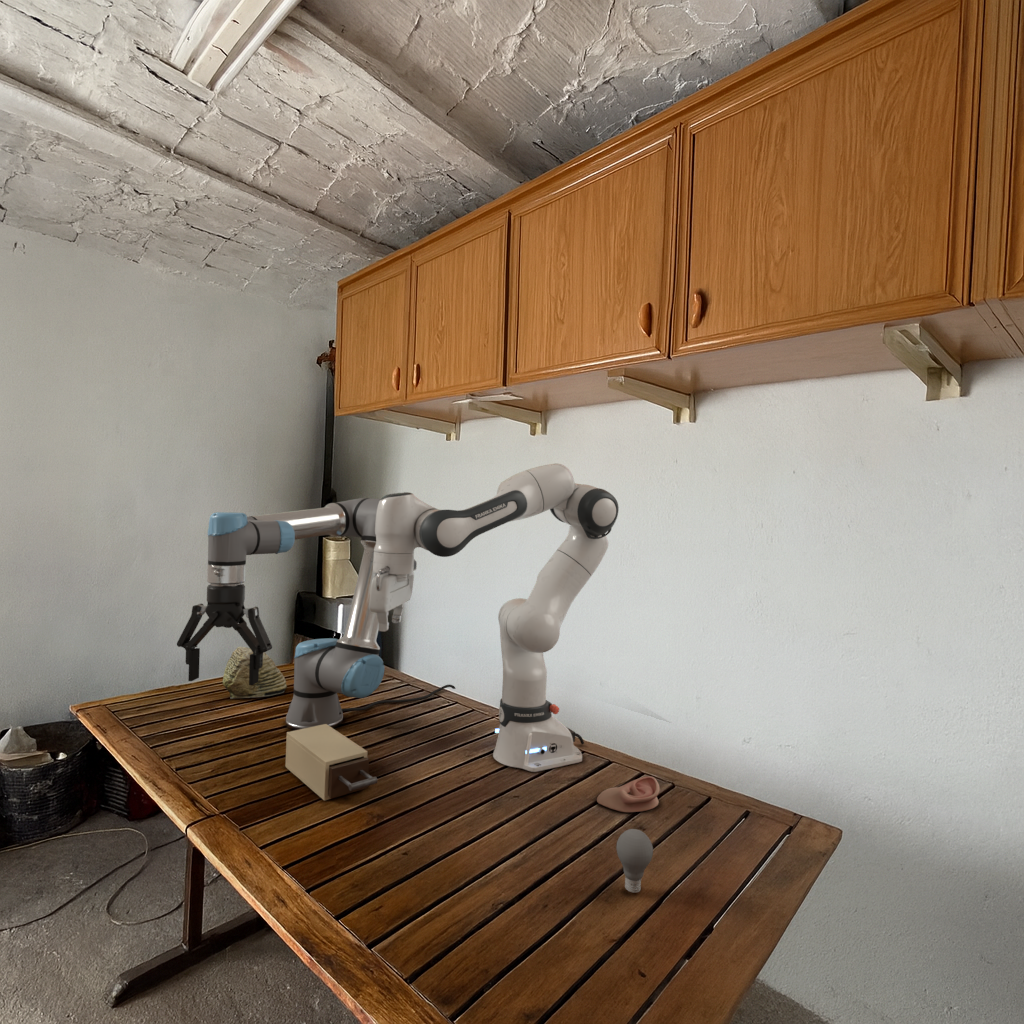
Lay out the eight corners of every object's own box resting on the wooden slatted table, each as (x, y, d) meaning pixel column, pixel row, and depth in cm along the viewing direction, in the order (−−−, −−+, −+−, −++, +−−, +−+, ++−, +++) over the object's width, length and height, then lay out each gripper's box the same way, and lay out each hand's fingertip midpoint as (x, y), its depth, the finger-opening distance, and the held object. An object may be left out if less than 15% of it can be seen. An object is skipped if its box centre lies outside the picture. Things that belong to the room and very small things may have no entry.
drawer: (382, 798, 132) (383, 768, 132) (344, 810, 127) (345, 779, 126) (328, 757, 151) (329, 731, 151) (293, 766, 146) (294, 739, 145)
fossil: (218, 695, 195) (220, 647, 195) (278, 685, 208) (279, 640, 207) (228, 703, 189) (230, 653, 188) (289, 692, 201) (290, 645, 201)
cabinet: (366, 788, 139) (367, 751, 138) (324, 800, 132) (325, 762, 132) (324, 757, 154) (326, 723, 154) (285, 766, 147) (286, 732, 147)
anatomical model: (596, 789, 133) (599, 767, 145) (595, 808, 134) (599, 785, 145) (660, 798, 131) (659, 775, 142) (659, 817, 131) (658, 792, 142)
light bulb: (610, 879, 108) (613, 822, 108) (644, 879, 109) (647, 822, 109) (619, 902, 102) (622, 840, 102) (655, 901, 103) (658, 840, 103)
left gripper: (160, 583, 134) (157, 682, 135) (273, 589, 132) (270, 690, 132) (181, 578, 141) (179, 672, 142) (289, 584, 139) (286, 680, 140)
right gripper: (393, 570, 130) (389, 637, 131) (418, 561, 151) (415, 619, 151) (363, 568, 131) (360, 635, 131) (393, 560, 151) (390, 617, 152)
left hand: (223, 681), depth 137 cm, fingers open, 13 cm apart
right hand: (390, 626), depth 141 cm, fingers open, 8 cm apart
